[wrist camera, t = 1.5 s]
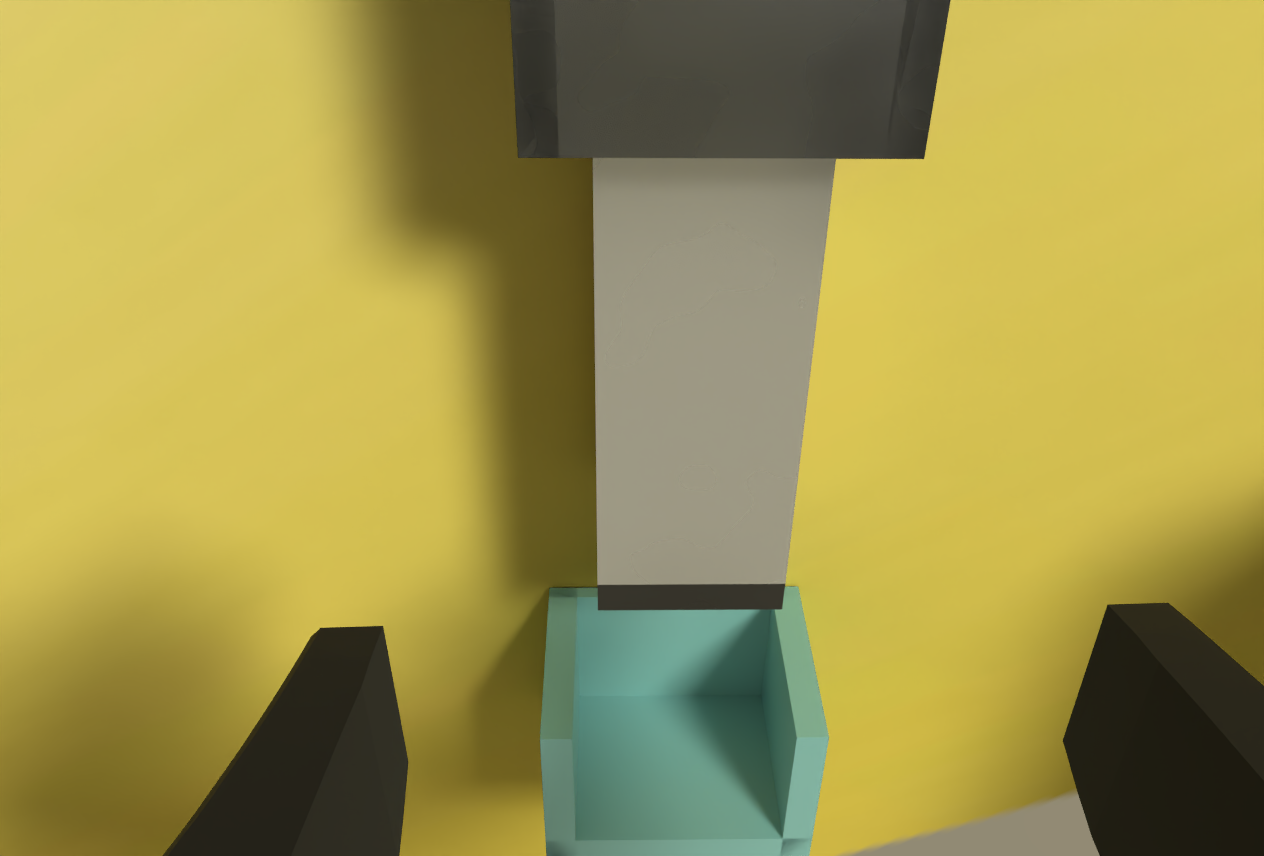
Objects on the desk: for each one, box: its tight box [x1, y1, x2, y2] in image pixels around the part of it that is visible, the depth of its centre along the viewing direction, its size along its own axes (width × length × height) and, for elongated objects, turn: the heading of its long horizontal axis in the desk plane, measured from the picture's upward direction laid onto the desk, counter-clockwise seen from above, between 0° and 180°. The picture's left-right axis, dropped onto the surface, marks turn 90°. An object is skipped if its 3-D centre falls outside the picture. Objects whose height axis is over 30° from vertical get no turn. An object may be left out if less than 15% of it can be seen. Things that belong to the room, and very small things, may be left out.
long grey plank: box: [593, 158, 836, 610], centre depth 17 cm, size 3×14×3 cm, turn 179°
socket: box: [540, 587, 829, 856], centre depth 23 cm, size 5×4×4 cm
